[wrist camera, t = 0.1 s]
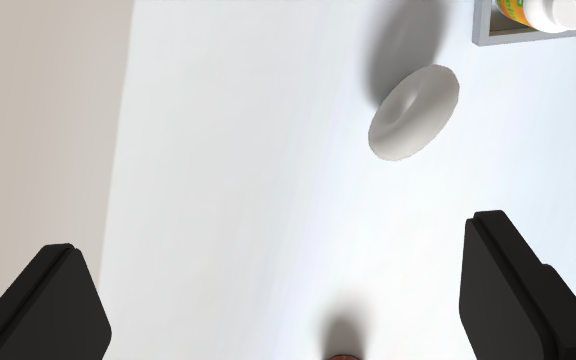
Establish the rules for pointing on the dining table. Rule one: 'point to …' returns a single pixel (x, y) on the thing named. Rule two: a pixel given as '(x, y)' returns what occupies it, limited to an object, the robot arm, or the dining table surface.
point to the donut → (413, 113)
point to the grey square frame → (487, 38)
